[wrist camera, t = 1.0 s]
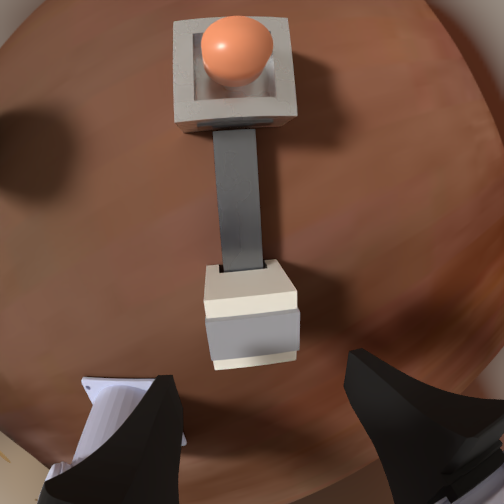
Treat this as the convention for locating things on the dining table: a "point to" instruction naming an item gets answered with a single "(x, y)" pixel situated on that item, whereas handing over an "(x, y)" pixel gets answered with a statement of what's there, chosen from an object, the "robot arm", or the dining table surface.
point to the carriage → (251, 316)
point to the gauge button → (236, 50)
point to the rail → (238, 199)
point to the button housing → (231, 98)
